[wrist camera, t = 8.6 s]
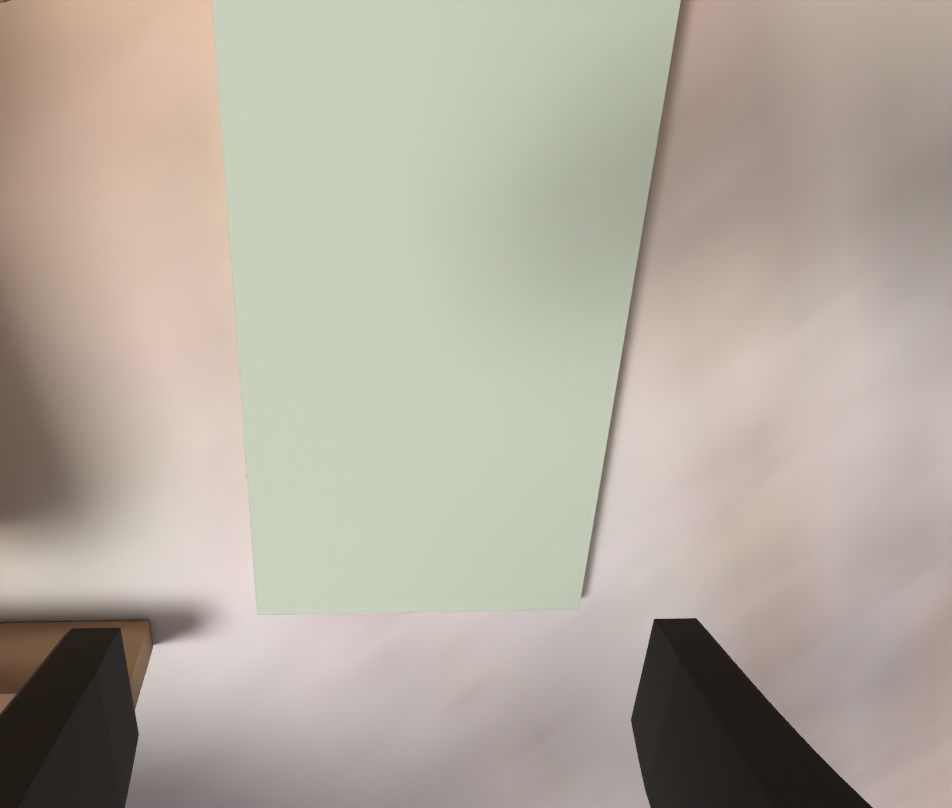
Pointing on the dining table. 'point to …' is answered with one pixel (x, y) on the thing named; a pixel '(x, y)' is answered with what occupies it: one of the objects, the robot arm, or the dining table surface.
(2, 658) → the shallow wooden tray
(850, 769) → the dining table surface
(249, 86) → the felt pad
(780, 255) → the dining table surface
